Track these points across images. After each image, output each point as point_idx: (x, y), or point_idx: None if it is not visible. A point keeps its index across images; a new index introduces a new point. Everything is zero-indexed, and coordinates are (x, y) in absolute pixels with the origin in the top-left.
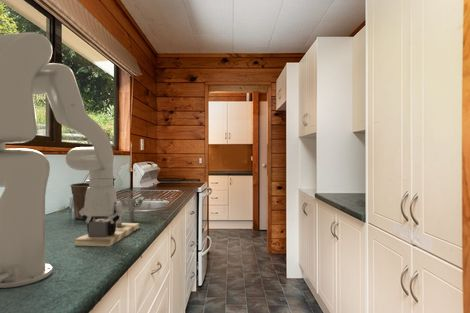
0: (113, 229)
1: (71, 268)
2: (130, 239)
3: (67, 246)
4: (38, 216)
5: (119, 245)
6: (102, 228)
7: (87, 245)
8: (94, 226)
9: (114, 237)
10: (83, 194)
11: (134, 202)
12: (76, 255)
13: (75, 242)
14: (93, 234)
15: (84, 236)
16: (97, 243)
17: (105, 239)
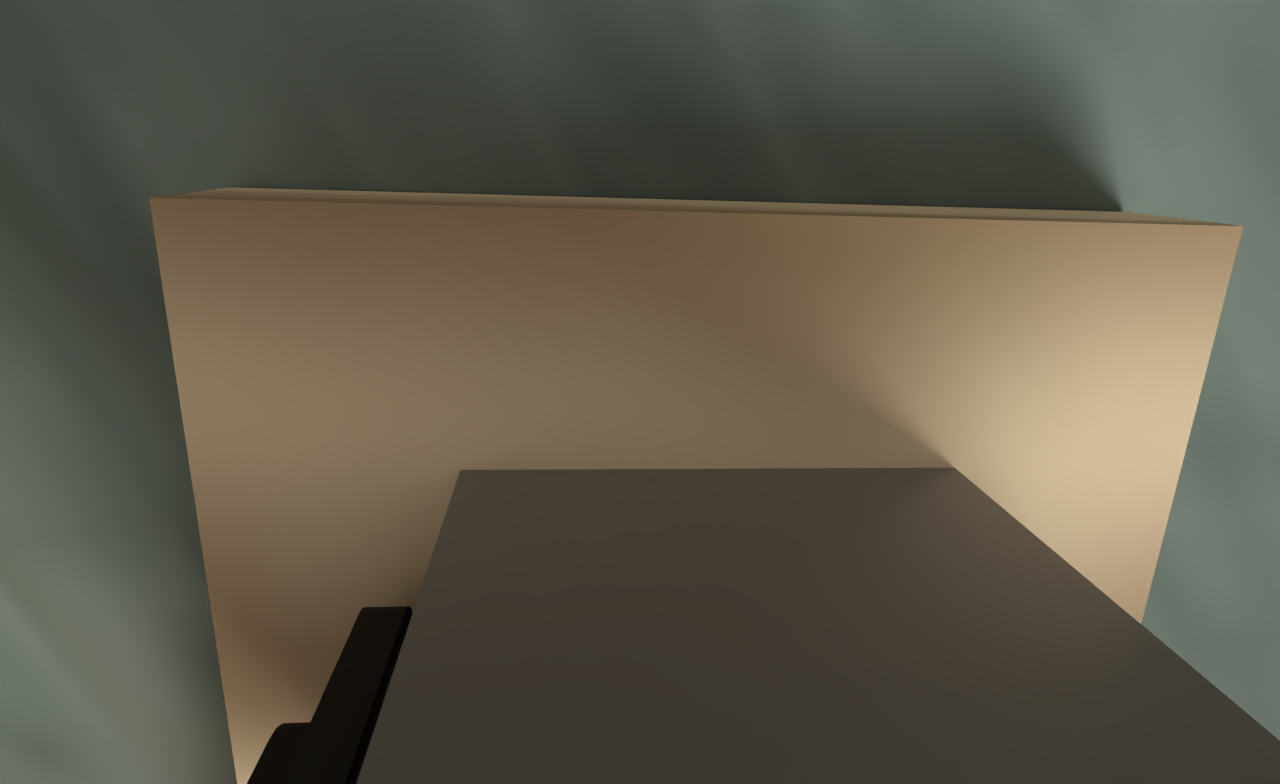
0: (257, 775)
1: None
2: (58, 731)
3: (1262, 133)
4: None
5: (8, 279)
6: (540, 621)
7: (818, 205)
8: (910, 658)
9: (197, 503)
10: None
11: None
12: None
13: (1158, 216)
14: (838, 499)
15: (1084, 509)
16: (555, 200)
17: (327, 269)
